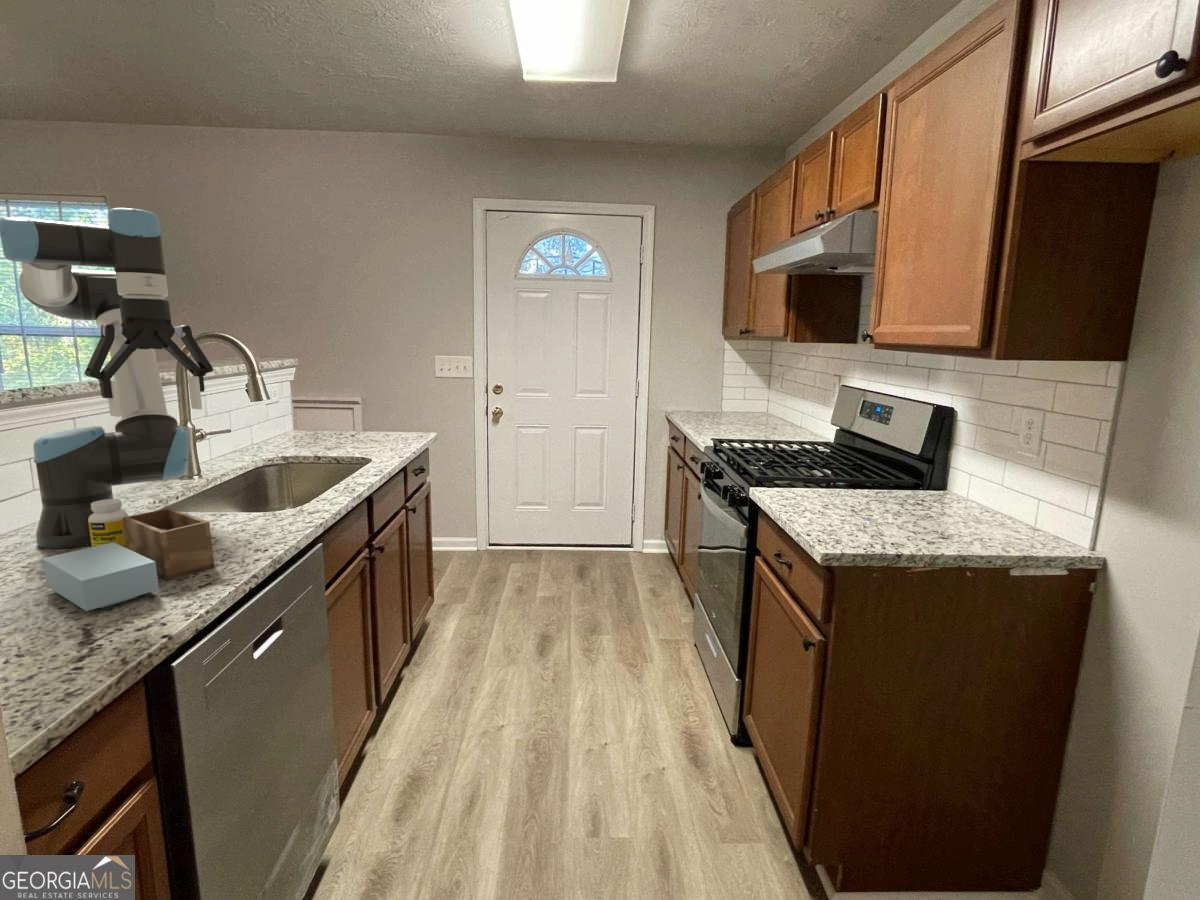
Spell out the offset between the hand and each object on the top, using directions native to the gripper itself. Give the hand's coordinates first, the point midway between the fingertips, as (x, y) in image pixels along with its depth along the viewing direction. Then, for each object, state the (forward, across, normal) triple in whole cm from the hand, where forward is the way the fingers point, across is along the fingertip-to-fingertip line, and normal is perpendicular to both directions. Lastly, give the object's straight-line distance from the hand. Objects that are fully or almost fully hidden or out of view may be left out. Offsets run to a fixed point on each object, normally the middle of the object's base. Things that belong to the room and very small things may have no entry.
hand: (158, 412), depth 118 cm
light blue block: (+29, -16, -10) cm, 34 cm away
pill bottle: (+29, -7, +10) cm, 31 cm away
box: (+29, -3, -5) cm, 29 cm away
